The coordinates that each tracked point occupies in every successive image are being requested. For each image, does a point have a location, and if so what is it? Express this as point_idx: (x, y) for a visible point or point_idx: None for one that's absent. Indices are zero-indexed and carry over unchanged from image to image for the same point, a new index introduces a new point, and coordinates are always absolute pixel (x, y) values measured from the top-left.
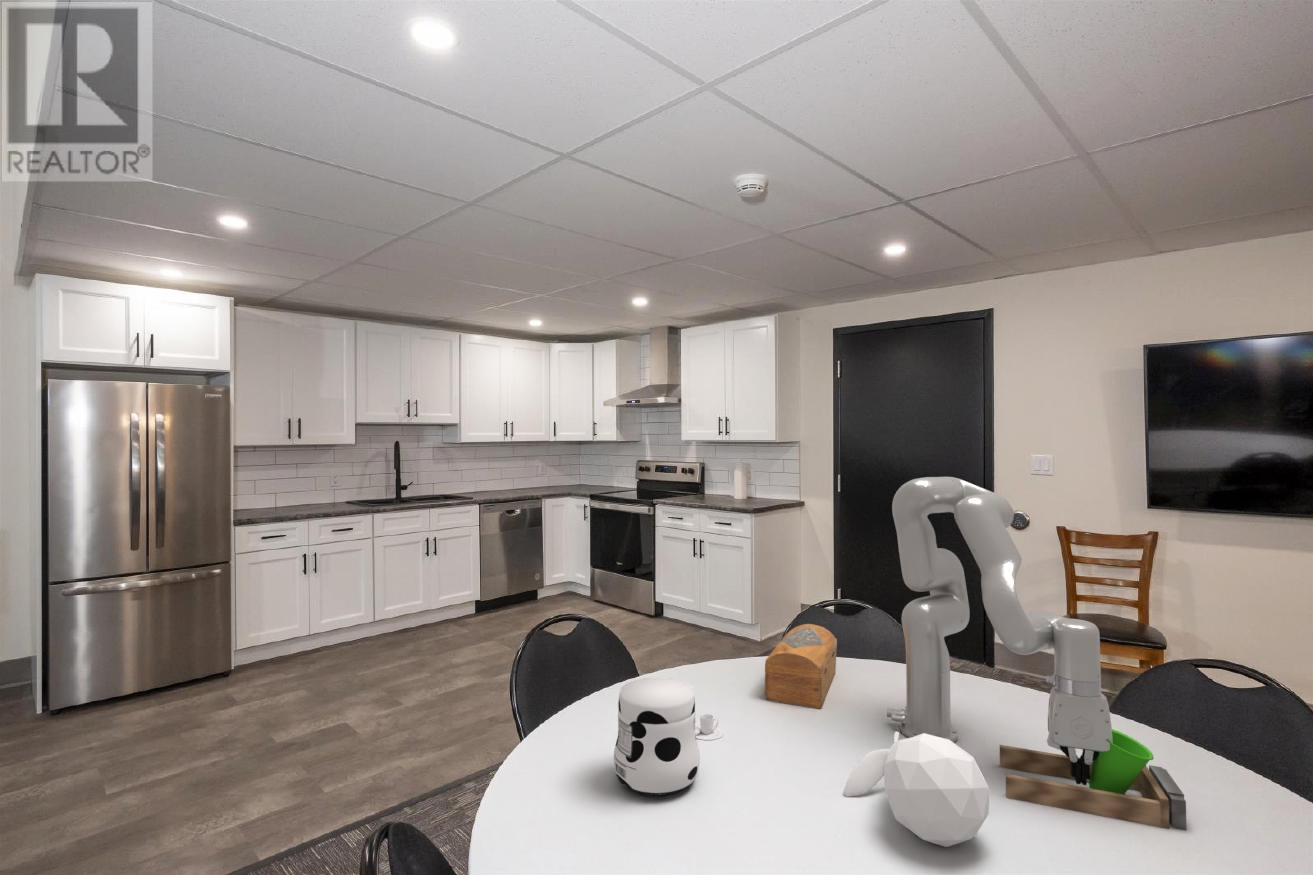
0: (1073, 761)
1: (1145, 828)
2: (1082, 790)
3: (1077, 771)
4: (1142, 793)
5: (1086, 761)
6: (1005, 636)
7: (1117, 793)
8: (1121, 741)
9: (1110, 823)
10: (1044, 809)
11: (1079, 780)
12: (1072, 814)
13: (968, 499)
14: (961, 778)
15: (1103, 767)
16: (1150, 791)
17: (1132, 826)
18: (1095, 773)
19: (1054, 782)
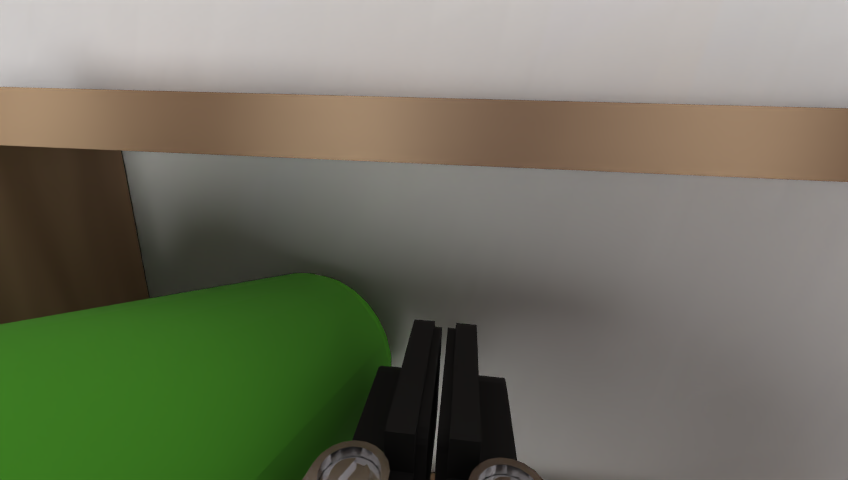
0: (507, 469)
1: (181, 45)
2: (497, 102)
3: (472, 379)
4: None
5: (369, 472)
6: None
7: (217, 153)
8: None
9: (356, 21)
10: (748, 44)
11: (458, 336)
12: (565, 48)
13: None
14: None
15: (216, 399)
16: (42, 316)
17: (243, 38)
18: (325, 392)
19: (734, 173)
